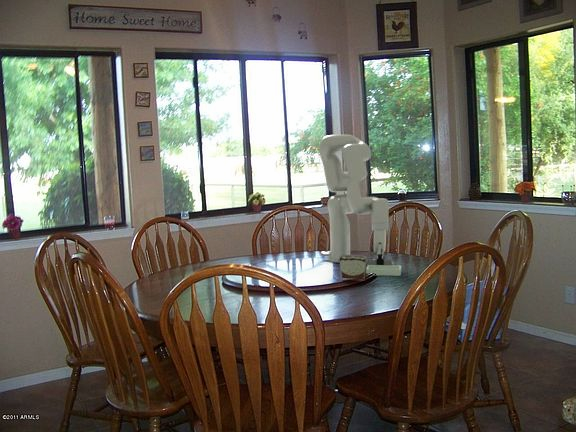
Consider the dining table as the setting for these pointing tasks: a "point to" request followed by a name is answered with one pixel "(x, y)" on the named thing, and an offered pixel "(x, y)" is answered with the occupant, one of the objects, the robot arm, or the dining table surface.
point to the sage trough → (384, 269)
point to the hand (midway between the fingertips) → (380, 266)
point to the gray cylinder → (386, 262)
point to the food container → (353, 266)
